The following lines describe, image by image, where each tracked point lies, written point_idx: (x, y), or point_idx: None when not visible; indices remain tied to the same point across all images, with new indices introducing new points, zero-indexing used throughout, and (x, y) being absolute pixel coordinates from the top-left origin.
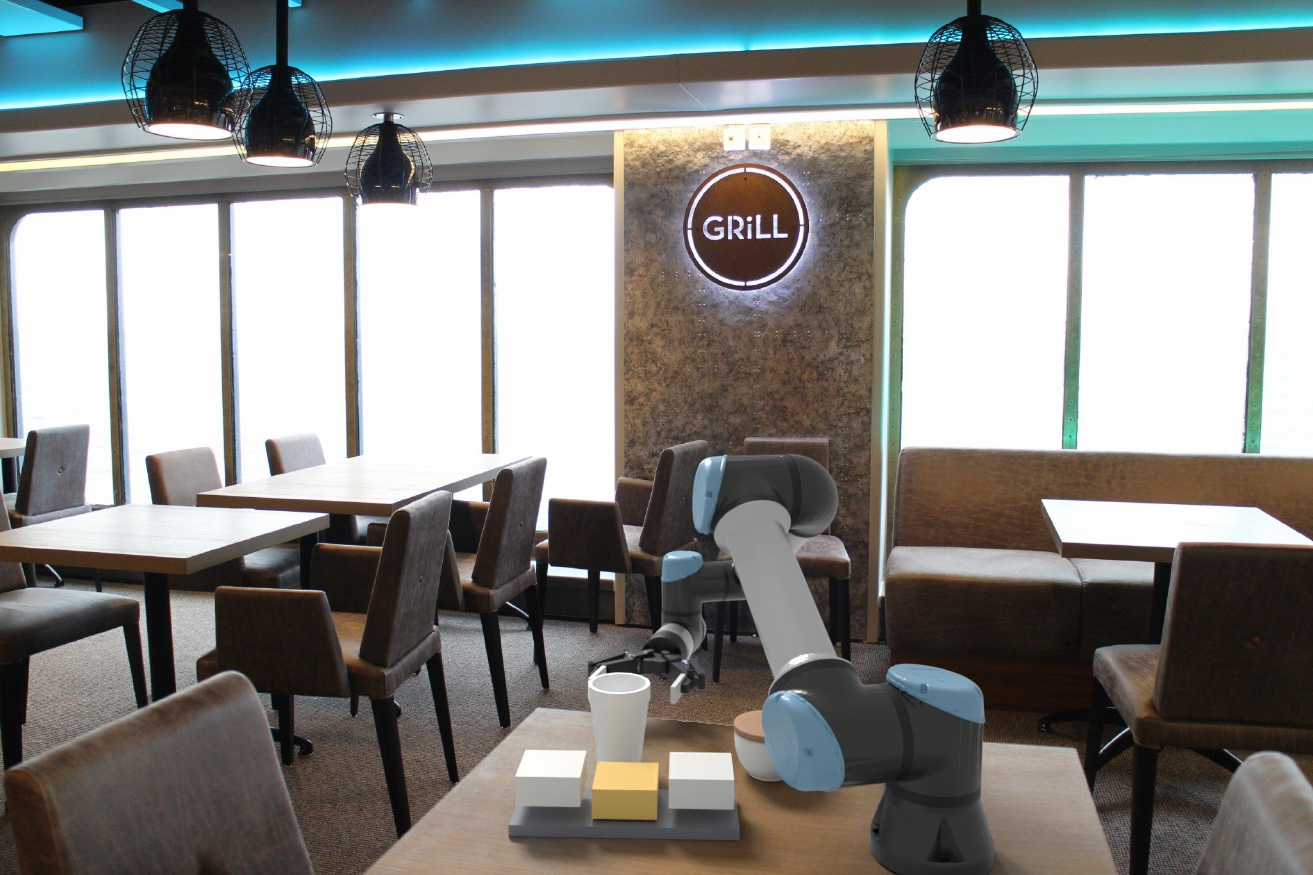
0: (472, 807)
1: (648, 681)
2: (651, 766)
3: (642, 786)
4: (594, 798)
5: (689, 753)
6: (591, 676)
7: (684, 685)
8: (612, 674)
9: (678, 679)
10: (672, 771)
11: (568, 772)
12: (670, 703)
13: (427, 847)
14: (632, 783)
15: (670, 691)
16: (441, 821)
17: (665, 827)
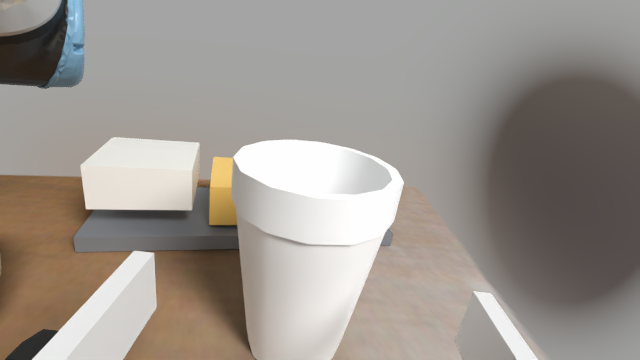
0: (424, 230)
1: (240, 165)
2: (221, 182)
3: (231, 161)
4: None
5: (159, 166)
6: (497, 309)
7: (55, 333)
8: (365, 194)
9: (83, 321)
10: (193, 148)
11: None
12: (156, 305)
13: (406, 194)
14: None
15: (154, 269)
16: (429, 214)
17: (203, 188)
